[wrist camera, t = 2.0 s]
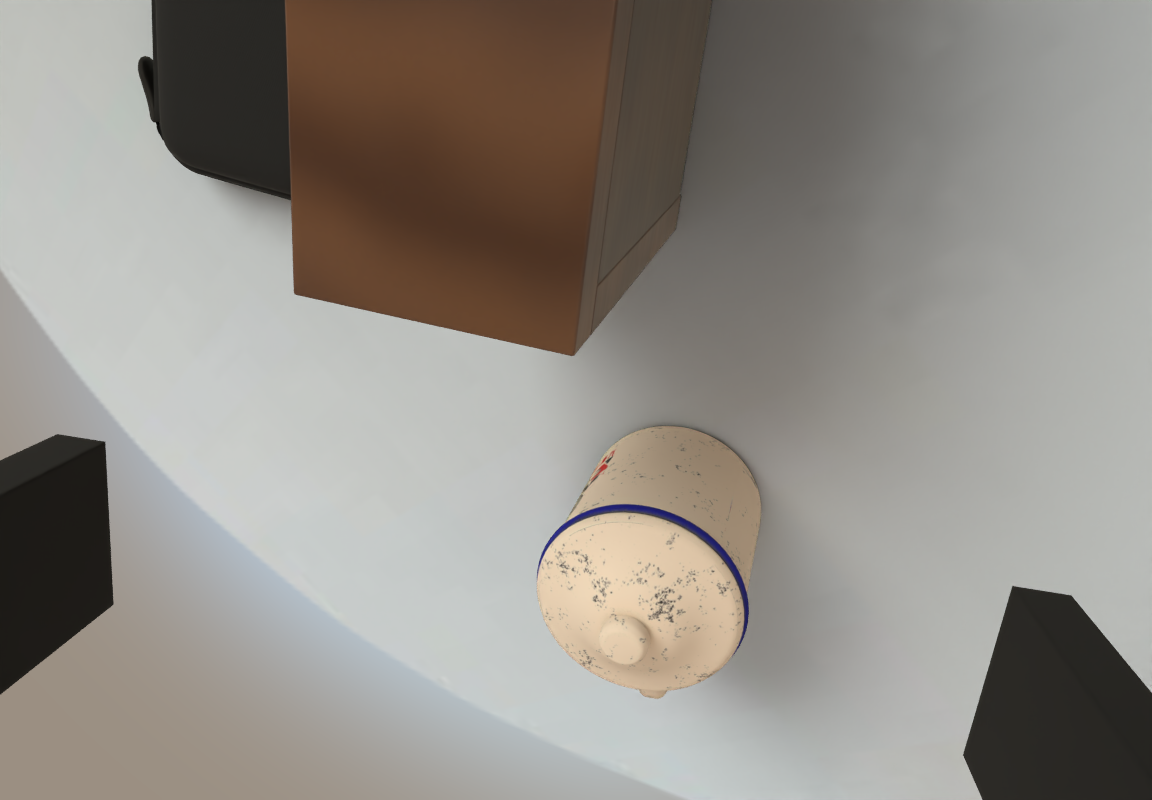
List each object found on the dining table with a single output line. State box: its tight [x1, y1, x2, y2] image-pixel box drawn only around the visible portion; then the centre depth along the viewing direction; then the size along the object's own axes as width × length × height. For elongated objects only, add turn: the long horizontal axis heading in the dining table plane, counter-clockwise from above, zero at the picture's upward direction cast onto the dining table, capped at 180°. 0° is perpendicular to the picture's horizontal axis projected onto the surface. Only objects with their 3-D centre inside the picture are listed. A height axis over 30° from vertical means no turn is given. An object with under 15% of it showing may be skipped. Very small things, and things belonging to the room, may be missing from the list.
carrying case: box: [138, 0, 291, 200], centre depth 39 cm, size 11×3×15 cm
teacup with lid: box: [537, 426, 761, 699], centre depth 40 cm, size 12×9×12 cm
